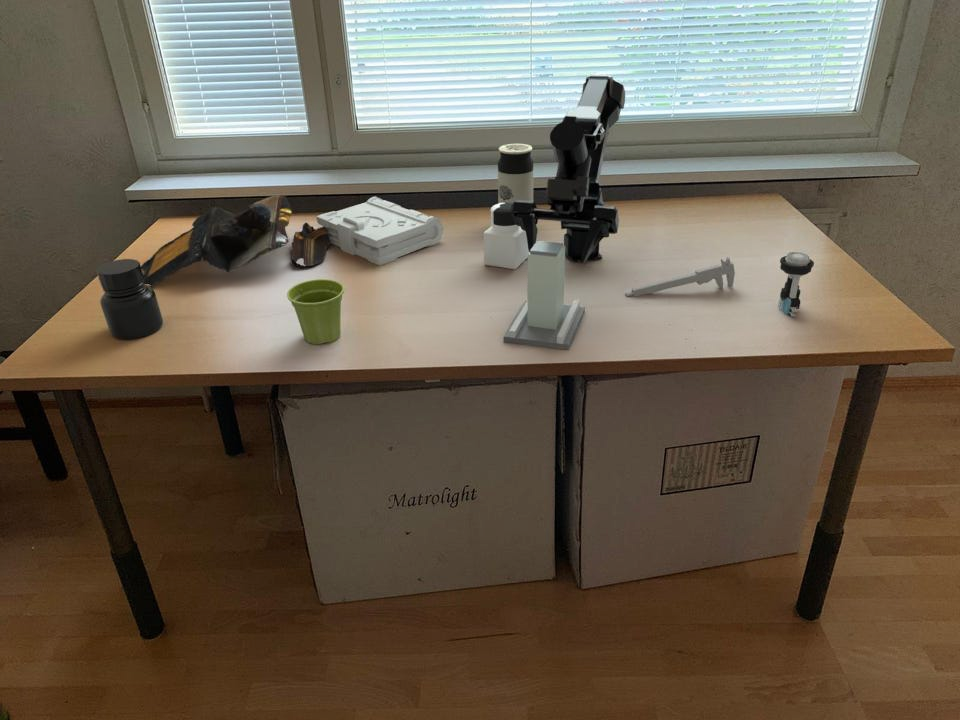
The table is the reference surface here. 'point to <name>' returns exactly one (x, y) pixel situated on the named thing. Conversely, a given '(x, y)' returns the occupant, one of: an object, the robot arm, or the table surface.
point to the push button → (793, 280)
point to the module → (546, 284)
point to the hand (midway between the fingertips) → (556, 261)
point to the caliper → (691, 279)
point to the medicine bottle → (504, 239)
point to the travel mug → (515, 173)
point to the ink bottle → (128, 300)
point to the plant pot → (318, 309)
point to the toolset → (237, 240)
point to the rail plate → (545, 336)
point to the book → (380, 230)
